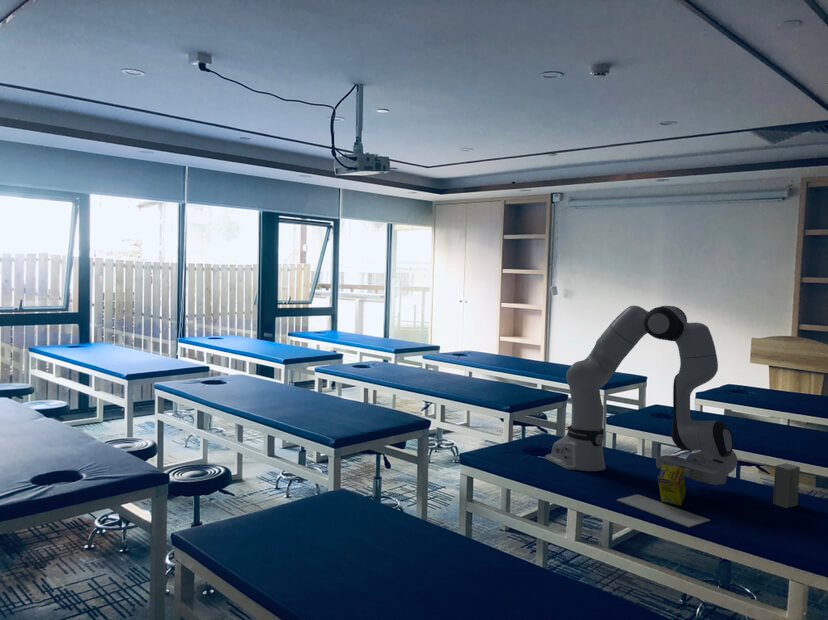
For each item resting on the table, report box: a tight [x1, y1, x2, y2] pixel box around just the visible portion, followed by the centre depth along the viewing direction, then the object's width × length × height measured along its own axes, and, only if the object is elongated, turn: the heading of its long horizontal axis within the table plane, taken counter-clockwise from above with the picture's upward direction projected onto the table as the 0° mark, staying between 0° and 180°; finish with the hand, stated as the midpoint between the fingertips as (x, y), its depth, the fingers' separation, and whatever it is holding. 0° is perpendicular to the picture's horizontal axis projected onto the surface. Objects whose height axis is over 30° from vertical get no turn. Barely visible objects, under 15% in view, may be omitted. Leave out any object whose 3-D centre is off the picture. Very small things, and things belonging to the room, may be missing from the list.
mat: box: [616, 493, 711, 528], centre depth 183 cm, size 24×10×1 cm, turn 34°
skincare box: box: [772, 463, 801, 509], centre depth 191 cm, size 6×4×12 cm
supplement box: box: [657, 464, 687, 508], centre depth 186 cm, size 6×6×11 cm
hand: (674, 472), depth 189 cm, fingers closed
